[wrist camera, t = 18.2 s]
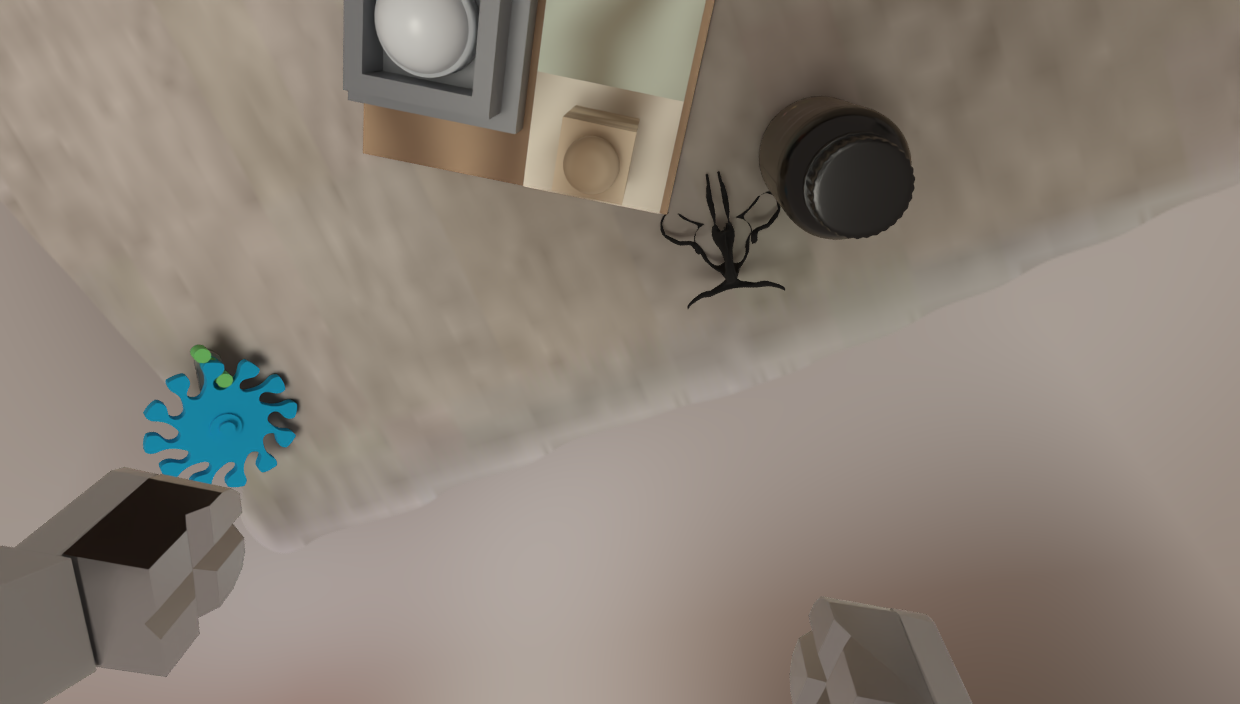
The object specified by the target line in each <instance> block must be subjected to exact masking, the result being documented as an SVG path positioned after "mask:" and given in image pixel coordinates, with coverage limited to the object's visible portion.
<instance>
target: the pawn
mask: <svg viewBox="0 0 1240 704" xmlns="http://www.w3.org/2000/svg"><path fill="white" fill-rule="evenodd" d="M639 120H640V119H638V118H634V117H629V116H624V115H620V114H615V113H610V112H606V111H601V110H596V109H592V108H587V107H583V106H578V105H575V106H574V107H573V108H572V109H571V110H570V111H569V112H567V113H566V114H565V115H564V116H563V119H562V125H561V132H560V138H559V145H558V151H557V158H556V165H555V171H554V178H553V184H552V191H556V192H560V193H565V194H570V195H575V196H579V197H584V198H589V199H594V200H598V201H603V202H608V203H613V204H617V205H622V203H623V198H624V194H625V189H626V185H627V180H628V175H629V170H630V165H631V160H632V155H633V150H634V145H635V140H636V135H637V130H638V125H639Z"/></svg>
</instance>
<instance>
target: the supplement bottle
mask: <svg viewBox="0 0 1240 704" xmlns="http://www.w3.org/2000/svg"><path fill="white" fill-rule="evenodd" d="M759 165H760V171H761V174H762V177H763V180H764V182H765V184H766V185H767V187H768V189H769V190H770V192H771V193H772V195H773V196H774V197H775V199H776V200H777V201H778V203H779V204H780V206H781V207H782V208H783V210H784V211H785V212H786V214H787V215H788V216H789V218H790V219H791V220H792V221H793V222H794V223H795V224H796V225H797V226H799V227H800V228H801V229H803V230H804V231H806V232H808V233H810V234H812V235H814V236H817V237H820V238H825V239H833V240H840V239H849V238H856V239H859V238H862V237H864V238H868V237H870V236H872V235H878V234H879V233H880V232H882V231H886V230H887V229H888V228H889V227H890V226H892V225H894V224H895V223H896V221H897V220H898V219H899V218H901V217H902V215H903V213H904V211H905V210H906V209H907V208H908V204H909V202H910V201H911V199H912V192H913V191H914V181H915V177H914V175H913V167H912V166H911V154H910V150H909V147H908V144H907V141H906V139H905V137H904V135H903V134H902V132H901V131H900V129H899V128H898V127H897V126H896V125H895V124H894V123H893V122H892V121H891V120H890V119H889V118H887V117H886V116H884V115H882V114H881V113H879V112H877V111H875V110H872V109H869V108H866V107H863V106H860V105H857V104H853V103H850V102H847V101H844V100H841V99H837V98H833V97H827V96H815V97H808V98H804V99H801V100H799V101H796V102H794V103H792V104H790V105H789V106H787V107H786V108H785V109H783V110H782V111H781V112H780V113H779V114H778V115H777V116H776V117H775V118H774V119H773V120H772V122H771V123H770V124H769V126H768V128H767V129H766V131H765V133H764V136H763V138H762V141H761V145H760V151H759Z"/></svg>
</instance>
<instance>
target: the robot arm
mask: <svg viewBox="0 0 1240 704" xmlns="http://www.w3.org/2000/svg"><path fill="white" fill-rule="evenodd" d="M241 513H242V507H241V499H240V493H238V492H237V491H235V490H233V489H231V488H226V487H222V486H217V485H212V484H207V483H203V482H198V481H193V480H188V479H183V478H179V477H174V476H169V475H164V474H160V475H159V474H155V473H149V472H145V471H141V470H136V469H131V468H127V467H123V468H119V469H116V470H112V471H110V472H109V473H107V474H106V475H105V476H104V477H103V478H101V479H100V480H99V481H98V482H96V483H95V484H94V485H92V486H91V487H90V488H89V489H87V490H86V491H85V492H84V493H83V494H81V495H80V496H78V497H77V498H76V499H75V500H73V501H72V502H71V503H70V504H68V505H67V506H66V507H65V508H64V509H62V510H61V511H60V512H58V513H57V514H56V515H55V516H53V517H52V518H51V519H50V520H48V521H47V522H46V523H45V524H43V525H42V526H41V527H40V528H38V529H37V530H36V531H35V532H33V533H32V534H31V535H29V536H28V537H27V538H26V539H24V540H23V541H22V542H21V543H19V544H18V545H17V546H16V547H14V548H13V547H7V546H0V704H43V703H45V702H46V701H48V700H50V699H51V698H53V697H55V696H56V695H58V694H59V693H61V692H63V691H64V690H66V689H68V688H69V687H71V686H73V685H74V684H76V683H77V682H79V681H81V680H82V679H84V678H86V677H87V676H89V675H90V674H92V673H94V672H95V671H96V667H101V668H108V669H115V670H122V671H129V672H137V673H143V674H150V675H157V676H164V677H167V675H168V674H169V673H170V671H171V670H172V669H173V667H174V666H175V665H176V664H177V662H178V661H179V660H180V658H181V657H182V656H183V655H184V653H185V652H186V651H187V649H188V648H189V647H190V646H191V644H192V643H193V641H194V640H195V639H196V638H197V636H198V635H199V634H200V632H199V621H198V618H199V617H201V616H203V615H205V614H207V613H209V612H210V611H213V610H214V609H216V608H218V607H220V606H221V605H222V604H223V602H224V601H225V599H226V598H227V597H228V595H229V594H230V592H231V591H232V590H233V588H234V586H235V583H236V581H237V579H238V576H239V574H240V572H241V570H242V566H243V560H244V554H245V544H244V537H243V536H242V534H241V533H240V532H239V531H238V530H237V528H236V527H235V526H234V525H233V522H235V520H236V519H237V518H238V517H239V516H240V515H241ZM809 619H810V624H811V628H812V631H810V632H808V633H807V634H805V635H804V636H802V637H800V638H799V639H798V642H797V645H796V647H795V650H794V653H793V655H792V663H791V670H790V688H791V689H790V690H791V697H792V702H793V704H972V702H971V699H970V697H969V695H968V693H967V691H966V689H965V687H964V685H963V683H962V680H961V678H960V676H959V674H958V672H957V670H956V667H955V666H954V663H953V661H952V659H951V657H950V655H949V653H948V650H947V649H946V646H945V644H944V642H943V640H942V638H941V635H940V633H939V631H938V629H937V627H936V625H935V623H934V621H933V620H932V619H931V618H930V617H929V616H928V615H927V614H922V613H916V612H910V611H904V610H898V609H892V608H891V609H888V608H884V607H878V606H872V605H867V604H861V603H855V602H849V601H844V600H838V599H832V598H827V597H820V598H819V599H818V600H817V601H816V602H815V603H814V605H813V608H812V609H811V612H810V614H809Z"/></svg>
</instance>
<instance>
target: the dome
mask: <svg viewBox="0 0 1240 704" xmlns="http://www.w3.org/2000/svg"><path fill="white" fill-rule="evenodd" d="M374 16H375V27H376V31H377V35H378V38H379V41H380V43H381V45H382V47H383V49H384V50H385V52H386V53H387V55H388V56H389V57H390V58H391V60H392V61H393V62H394V63H395V64H397V65H398V66H399V67H400V68H402V69H403V70H405V71H407V72H408V73H411V74H413V75H416V76H419V77H425V78H434V77H440V76H445V75H450V74H453V73H456V72H458V71H460V70H461V69H463V68H464V67H466V66H467V65H468V64H469V63H470V62H471V60H472V59H473V58H474V56H475V54H476V46H477V34H478V23H479V11H478V8H477V5H476V3H475V1H474V0H376V5H375V14H374Z"/></svg>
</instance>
